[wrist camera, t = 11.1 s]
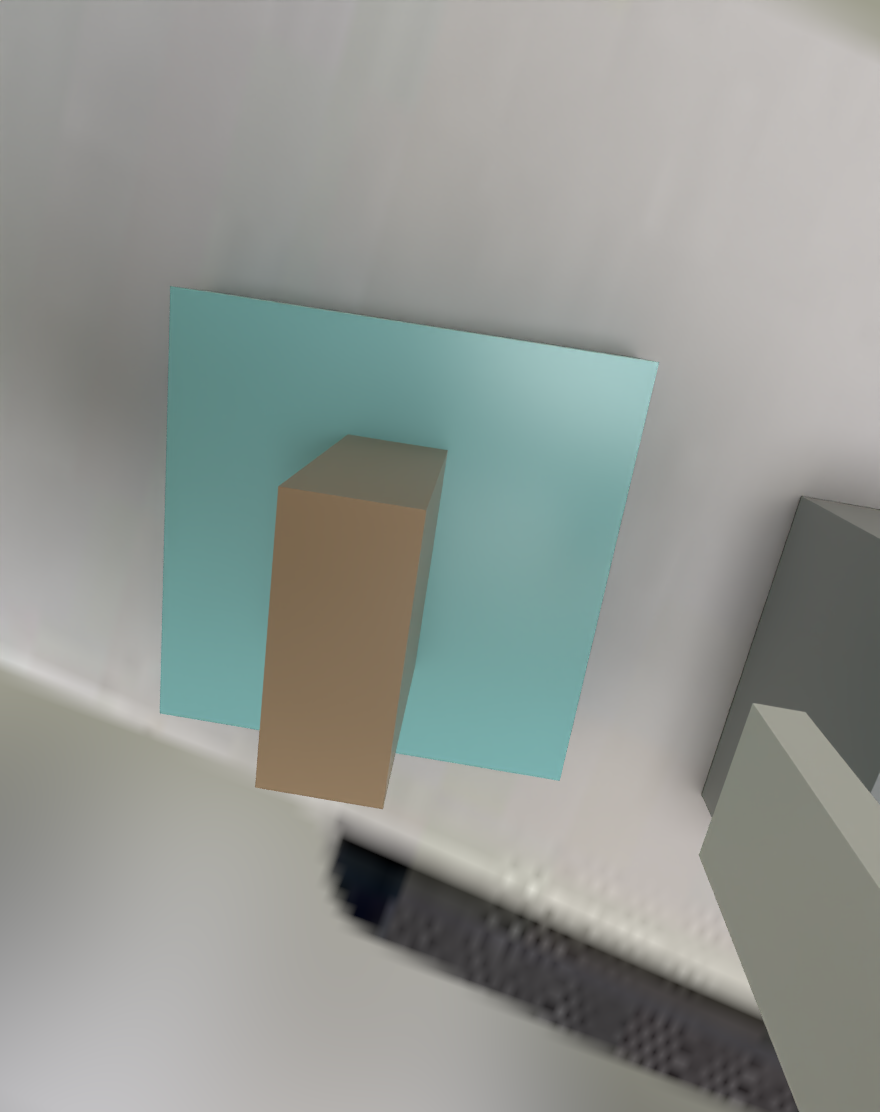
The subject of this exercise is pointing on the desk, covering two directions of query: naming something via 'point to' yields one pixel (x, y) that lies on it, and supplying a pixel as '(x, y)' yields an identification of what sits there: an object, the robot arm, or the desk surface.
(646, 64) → the desk surface
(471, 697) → the lid
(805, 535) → the storage box
